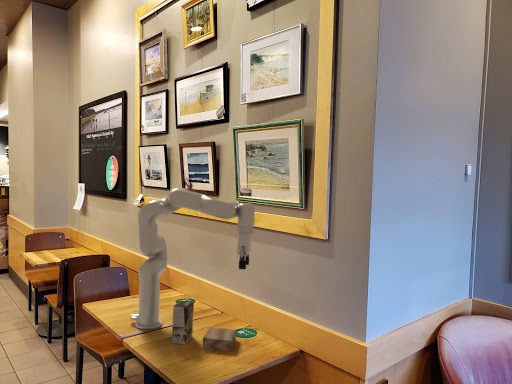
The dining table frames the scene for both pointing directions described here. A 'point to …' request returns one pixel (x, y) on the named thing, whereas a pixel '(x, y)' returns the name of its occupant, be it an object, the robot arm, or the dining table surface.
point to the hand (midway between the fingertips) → (243, 266)
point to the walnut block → (219, 339)
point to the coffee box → (182, 322)
